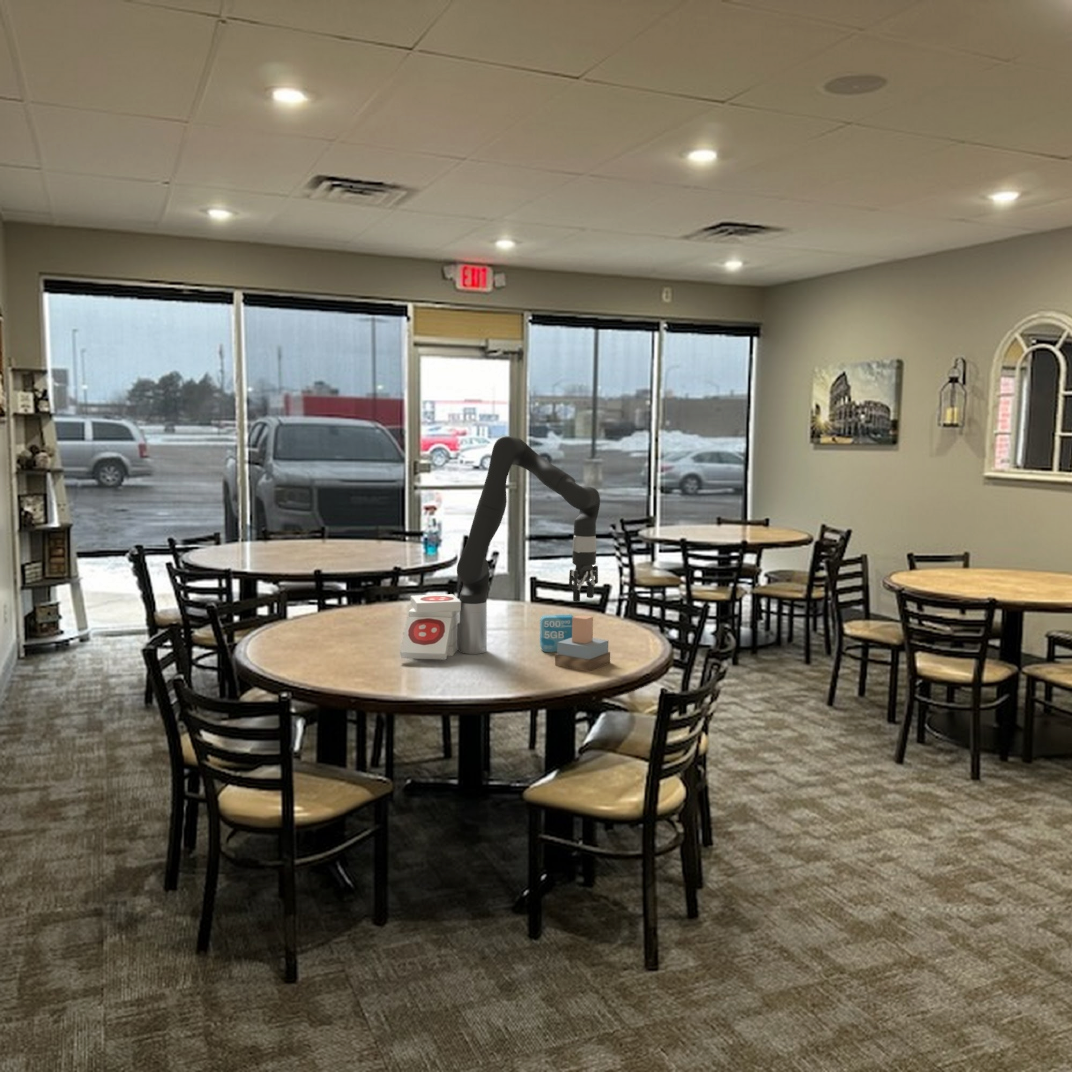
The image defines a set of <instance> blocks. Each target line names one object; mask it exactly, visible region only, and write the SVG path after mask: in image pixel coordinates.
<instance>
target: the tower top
mask: <svg viewBox="0 0 1072 1072" xmlns="http://www.w3.org/2000/svg"><path fill="white" fill-rule="evenodd" d="M608 652H609V640H608V639H601V638H595V637H593V641H592V642H589V643H587V644H584V643H576V642H572V638H569V639H566V640H563V641H560V642H557V652H556V654H558V655H564V656H570V657H576V658H582V659H588V660H590V659H592V658H595V657H598V656H600V655H603V654H606V653H608Z"/></svg>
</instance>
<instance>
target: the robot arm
mask: <svg viewBox="0 0 1072 1072" xmlns="http://www.w3.org/2000/svg"><path fill="white" fill-rule="evenodd" d="M490 455H491V456H490V461H489V467H488V471H487V475H486V478H485V480H484V485H483V487H482V490H481V491H482V492H481V495H480V498H479V500H478V503H477V506H476V509H475V512H474V517H473V519H472V520H473V521H472V524H471V526H470V529H469V534H468V539H467V540H466V543H465V547H464V548H463V551H462V553H461V556H460V558H459V561H458V563H457V565H456V573H457V577H458V579H459V580H460V581H461V582H462V588H461V591H460V593H459V600H460V601H461V611H460V623H458V624H457V650H456V652H457V651H459V652H460V653H462V654H469V655H470V654H471V655H475V654H476V655H477V654H483V653H486V652H487V651H488V649H487V646H488V645H487V642H488V641H487V640H488V638H487V636H488V632H487V631H488V629H487V628H488V627H487V624H488V621H487V619H488V618H487V617H488V616H487V613H488V612H487V608H488V607H487V605H488V604H487V601H488V600H487V599H488V594H489V586H490V567H489V566H490V565H489V563H488V560H487V558H486V554H487V550H488V548H489V545H490V544H491V542H492V540H493V538H494V537H495V535H496V533H497V531H498V529H499V527H500V526H501V523H502V521H503V517H504V514H505V511H506V508H507V481H508V475H509V473H510V470H511V467H512V466H518V467H520V468H523V469H524V470H527V471H528V472H530V473H531V474H533V475H534V476H535V477H536V478H537V479H538V480H539V481H540V482H541V483H542V484H543V485H544V486H546V487H547V488H549V489H550V490H552V491H553V492H554V493H556V494H558V495H559V496H561V497H562V498H563V499H564V501H565V502H567V503H568V504H569V505H570V506H571V507H573V508H575V509H577V510H579V513H578V516H577V517H576V518H575V519H574V521H573V522H574V523H573V539H572V561H571V562H572V564H573V565H574V566H575V568H574V569H570V570H569V577H568V589H572V601H573V602H577V603H580V601H581V588H582V585H584V583H586V585H587V586H586V598H589V599H593V598H594V597H595V594H594V590H595V586H596V584H597V585H598V583H599V566H598V565H596V564H597V537H596V536H597V525H596V524H597V519H598V517H599V516H598V515H599V510H600V507H601V498H600V497H601V496H600V494H599V491H598V490H597V489H596V488H594V487H592V486H585V487H582V486H580V485H579V484H577V482H576V480H575V478H574V477H573V476H571V475H570V474H568V473H567V472H565V471H563V470H562V469H560V468H559V467H557V466H556V465H554V464H553V463H551V462H550V461H547V460H546V459H545V458H543V457H542V456H540V454H538V453H537V452H536V451H535V450H533V448H531V447H530V446H529V445H528V444H527V443H526V442H525V441H524V440H523V439H521V438H519V437H516V436H508V435H504V436H500V437H499V438H498V439H497V440H496V441H495V442H494V445H493V447H492V451H491V454H490Z"/></svg>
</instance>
